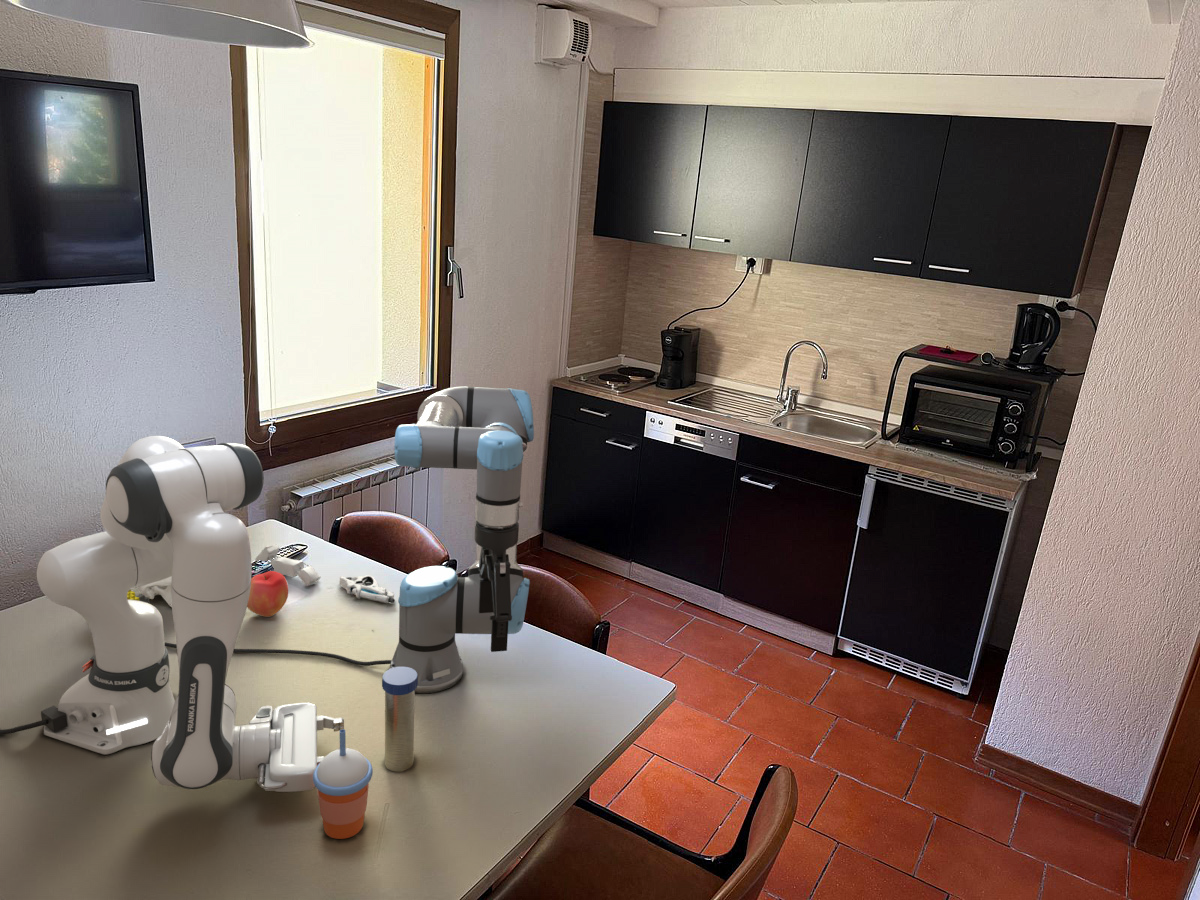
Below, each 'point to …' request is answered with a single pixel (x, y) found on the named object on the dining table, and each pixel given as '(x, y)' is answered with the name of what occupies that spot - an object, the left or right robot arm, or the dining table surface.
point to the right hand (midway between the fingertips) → (492, 630)
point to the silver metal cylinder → (399, 731)
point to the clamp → (288, 565)
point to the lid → (400, 680)
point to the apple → (267, 593)
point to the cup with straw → (343, 790)
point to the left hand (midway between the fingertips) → (344, 739)
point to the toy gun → (366, 589)
